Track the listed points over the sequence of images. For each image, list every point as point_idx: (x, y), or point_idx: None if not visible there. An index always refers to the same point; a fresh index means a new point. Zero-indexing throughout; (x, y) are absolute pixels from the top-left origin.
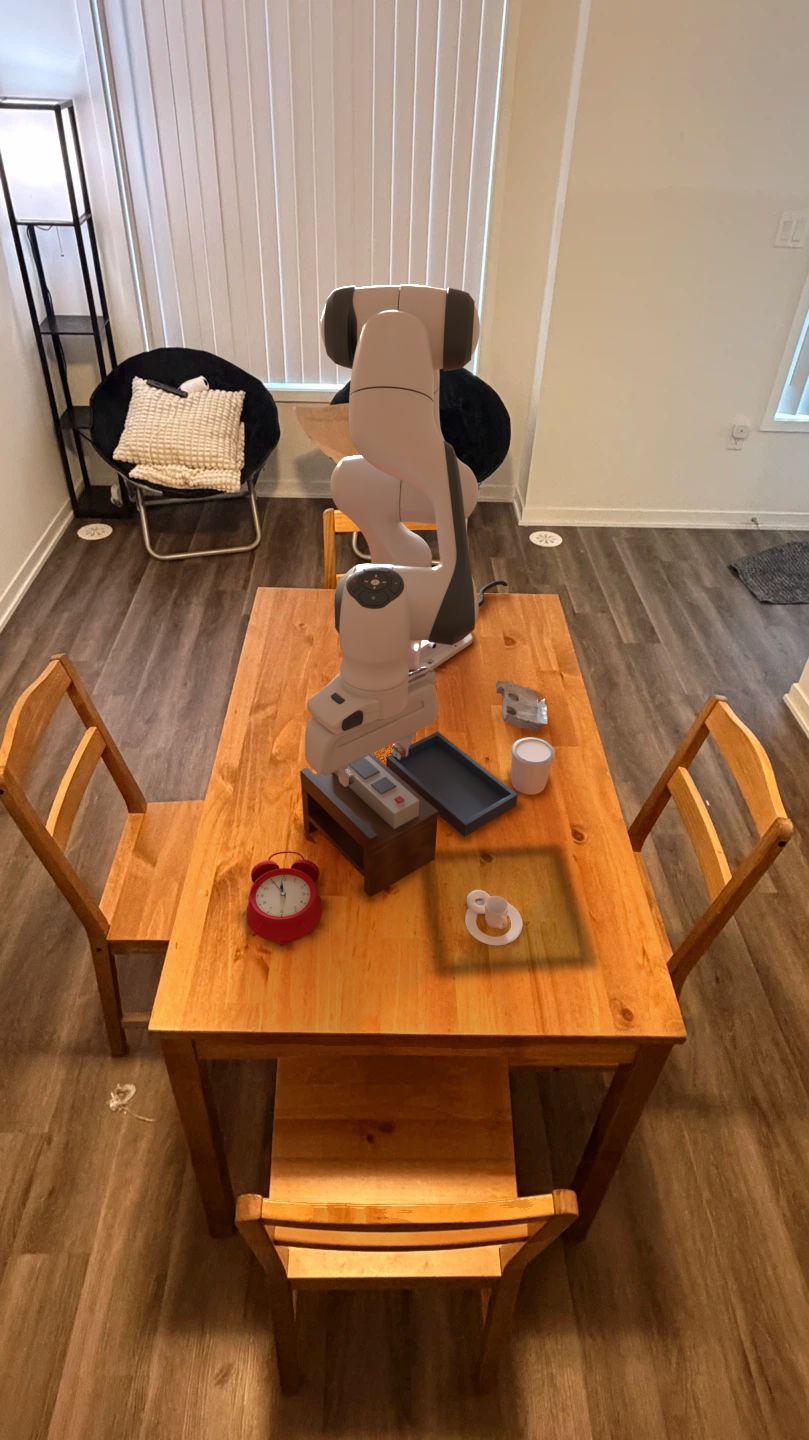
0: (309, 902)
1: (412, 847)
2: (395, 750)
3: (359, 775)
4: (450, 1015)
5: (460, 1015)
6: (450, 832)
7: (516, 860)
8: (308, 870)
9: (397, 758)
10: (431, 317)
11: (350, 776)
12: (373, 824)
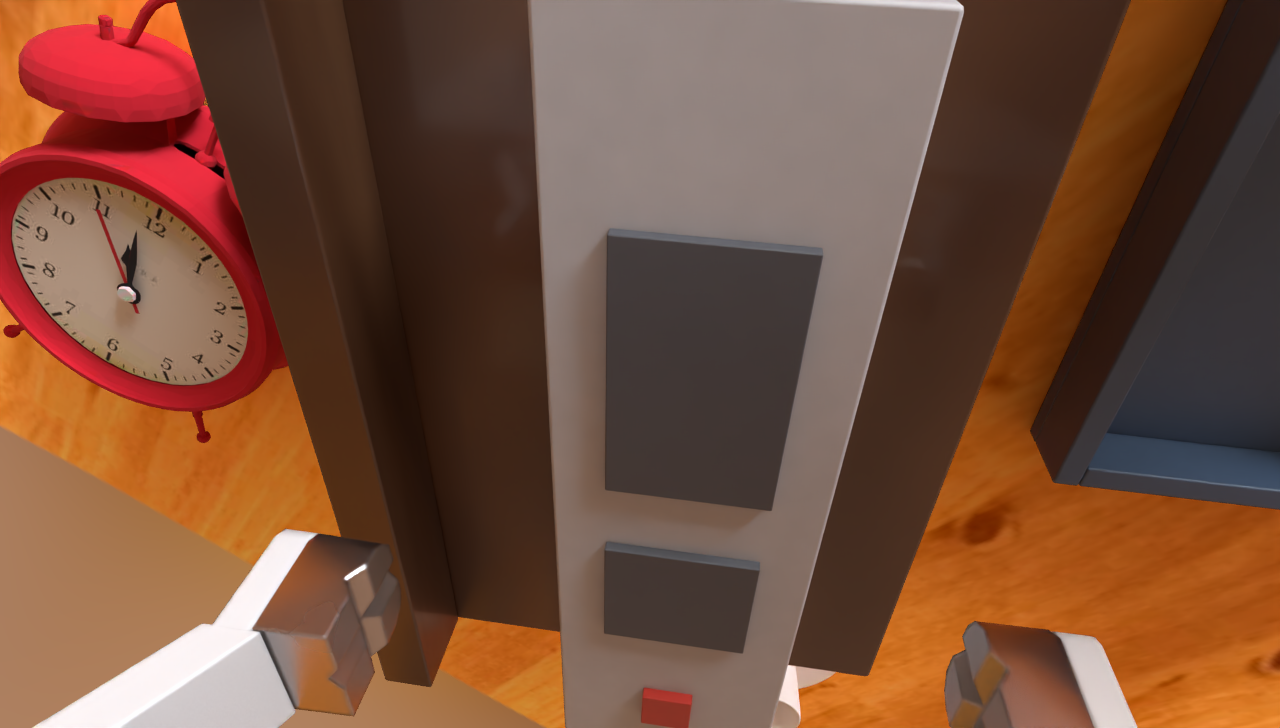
0: (226, 382)
1: None
2: (984, 719)
3: (598, 427)
4: (486, 679)
5: (505, 689)
6: (1019, 379)
7: (1038, 588)
8: None
9: (952, 659)
10: None
11: (307, 708)
12: (520, 542)
